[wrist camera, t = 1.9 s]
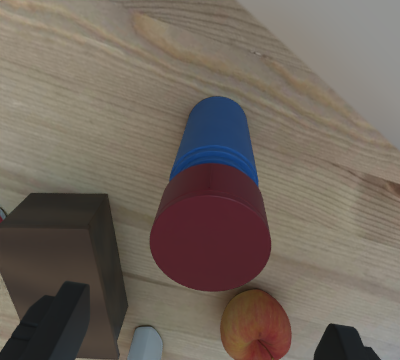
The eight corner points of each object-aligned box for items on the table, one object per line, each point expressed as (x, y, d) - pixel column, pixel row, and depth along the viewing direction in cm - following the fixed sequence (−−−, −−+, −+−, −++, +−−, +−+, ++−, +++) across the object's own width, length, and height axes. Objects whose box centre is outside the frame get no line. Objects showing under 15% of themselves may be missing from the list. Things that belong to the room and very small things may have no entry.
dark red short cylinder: (157, 160, 16) (142, 193, 13) (267, 161, 16) (276, 194, 13) (165, 247, 19) (155, 290, 16) (260, 249, 18) (266, 293, 15)
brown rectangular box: (23, 188, 33) (-19, 227, 27) (112, 189, 33) (88, 229, 27) (61, 306, 41) (34, 356, 35) (133, 309, 41) (118, 360, 35)
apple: (208, 294, 38) (204, 358, 31) (259, 264, 36) (267, 328, 29) (246, 328, 41) (250, 395, 34) (296, 303, 38) (313, 370, 31)
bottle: (186, 96, 28) (146, 189, 14) (248, 95, 27) (273, 190, 13) (189, 153, 30) (157, 281, 16) (245, 153, 30) (264, 284, 16)
